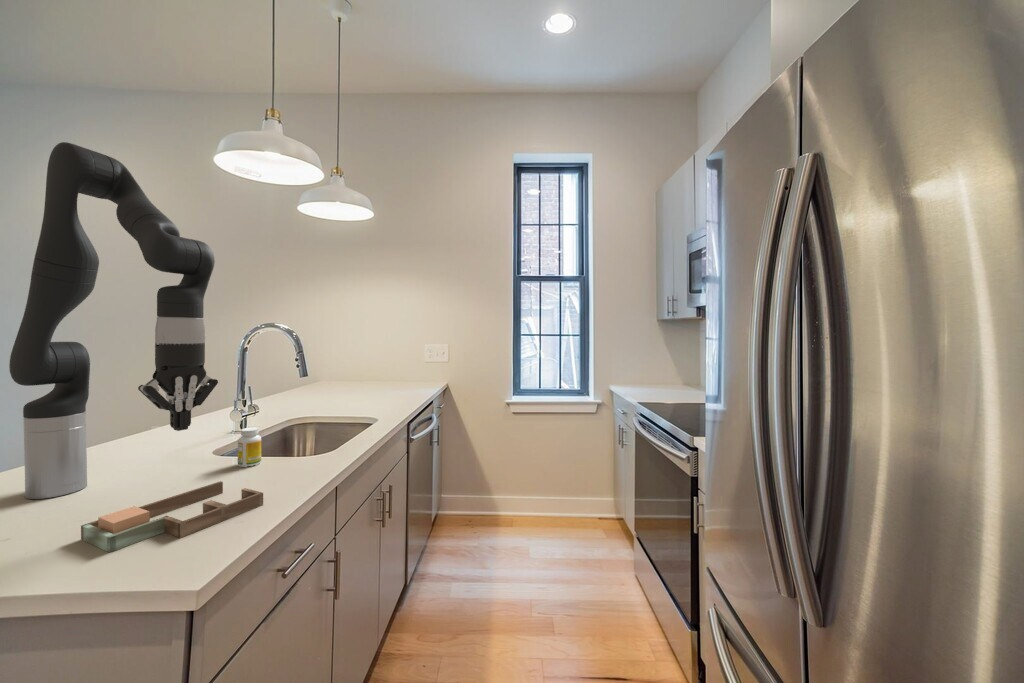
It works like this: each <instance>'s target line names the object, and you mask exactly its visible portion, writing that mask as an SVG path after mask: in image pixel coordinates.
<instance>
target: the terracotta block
mask: <svg viewBox="0 0 1024 683" xmlns="http://www.w3.org/2000/svg"><path fill="white" fill-rule="evenodd" d="M138 507H139V506H134V505H133V506H130V507H126V508H124V509H121V510H120V509H119V510H118V511H114V512H112V513H111V512H110V513H108V514H105V515H102V516H98V519H97V520H98V528H99V529H102V530H104V531H107V532H109V533H112V534H116V533H118V532H121V531H124V530H127V529H130V528H133V527H136V526H138V525H141V524H144V523H147V522H150V519H151V518H149V511H147V510H144V509H141V508H138Z"/></svg>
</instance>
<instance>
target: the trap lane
mask: <svg viewBox="0 0 1024 683" xmlns="http://www.w3.org/2000/svg"><path fill="white" fill-rule="evenodd" d="M223 486H224V481H221V480H220V481H217V482H213V483H210V484H208V485H207V484H206V485H205V486H204V485H203V486H202V487H198V488H195V489H191V490H188V491H186V492H182V493H179V494H177V495H173V496H170V497H167V498H164V499H160V500H156V501H154V502H151V503H150V502H149V503H147V504H144V505H141V506H137V507H138V508H141V509H144V510H147V511H149V518H150V517H151V518H154V517H156V516H157V517H158V516H161V515H162V514H165V513H168V512H170V511H171V512H172V511H174V510H177V509H180V508H183V507H186V506H188V505H192V504H195V503H197V502H200V501H201V502H202V501H204V500H206V499H208V498H212V497H215V496H218V495H221V494H223V493H224V487H223ZM240 493H241V498H240V499H239V500H236V501H233V502H231V503H228V504H226V503H222V502H220V501H219V502H218V501H216V500H213V499H210V500H208V501H204V502H203V503H202V513H201V514H198V515H195V516H193V517H191V518H188V519H185V520H181V519H178V518H174V517H172V516H170V515H165V516H162V517H159V518H156V519H153V520H151V521H150V522H147V523H144V524H141V525H138V526H136V527H133V528H130V529H127V530H124V531H121V532H118V533H116V534H112V533H109V532H107V531H104V530H102V529H99V528H98V519H97V520H95V521H91V522H87V523H85V524H82V525H80V540H81V539H82V540H81V541H83V540H84V541H83V542H85V541H86V542H85V543H87V542H88V543H87V544H90V545H92V546H95V547H96V548H99V549H101V550H103V551H105V552H108V553H113V552H115V551H118V550H120V549H123V548H126V547H128V546H131V545H134V544H137V543H139V542H142V541H144V540H147V539H149V538H153V537H154V536H157V535H160V534H162V533H166V534H168V535H171V536H174V537H177V538H180V539H181V538H184V537H186V536H188V535H191V534H194V533H197V532H199V531H202V530H204V529H207V528H209V527H211V526H214V525H217V524H219V523H221V522H224V521H226V520H228V519H232V518H234V517H236V516H238V515H239V516H240V515H241V514H243V513H246V512H249V511H251V510H254V509H256V508H258V506H259V507H260V506H264V492H262V491H259V490H254V489H251V488H242V489H241V492H240ZM151 518H150V519H151Z"/></svg>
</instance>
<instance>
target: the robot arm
mask: <svg viewBox="0 0 1024 683" xmlns="http://www.w3.org/2000/svg"><path fill="white" fill-rule="evenodd" d="M44 194H45V195H44V196H45V197H44V208H43V218H42V222H41V229H40V234H39V238H38V242H37V247H36V250H35V255H34V259H33V264H32V270H31V274H30V275H31V276H30V283H29V289H28V293H27V298H26V299H27V300H26V304H25V307H24V308H25V309H24V312H23V316H22V319H21V321H20V325H19V328H18V331H17V334H16V336H15V340H14V343H13V346H12V349H11V352H10V356H9V365H8V366H9V373H10V377H11V379H12V380H13V382H14V383H16V384H17V385H20V386H25V387H26V386H27V387H28V386H29V387H32V386H34V387H35V386H44V385H54V388H53V389H52V390H51V391H50V392H48V393H47V394H45V395H43V396H40V397H39V398H36V399H33V400H31V401H29V402H27V403H25V404H24V405H23V409H22V410H23V411H22V415H23V416H22V417H23V418H22V420H23V447H24V448H23V451H24V454H23V456H24V490H25V491H24V493H25V494H24V497H25V498H26V499H29V500H41V499H49V498H54V497H61V496H64V495H69V494H72V493H75V492H78V491H80V490H83V489H85V488H87V486H88V457H87V456H88V454H87V451H88V450H87V414H86V413H87V408H86V406H87V402H88V399H89V394H90V390H89V389H90V375H91V358H90V354H89V352H88V349H87V348H86V346H85V345H83V344H82V343H80V342H78V341H52V338H53V336H54V333H55V331H56V329H57V328H58V326H59V324H60V323H61V322H62V321H63V320H64V318H65V317H67V316H68V314H70V313H71V312H72V311H74V310H75V309H76V308H77V307H78V306H80V305H81V304H82V303H83V302H84V301H85V300H86V299H87V298H88V297H89V296H90V295H91V293H93V290H94V288H95V286H96V280H97V276H98V271H99V267H100V258H99V256H98V253H97V251H96V250H97V249H96V248H95V246H94V245H93V243H92V241H91V240H90V238H89V236H88V235H87V233H86V231H85V229H84V228H83V225H82V223H81V221H80V218H79V213H78V197H79V194H81V195H85V196H89V197H93V198H96V199H101V200H108V201H111V202H112V203H113V204H115V205H117V207H116V210H115V211H116V213H115V214H116V218H117V221H118V223H119V224H120V225H121V227H122V228H123V229H124V230H125V231H126V232H127V233H128V234H129V236H130V237H132V238H133V239H134V240H135V241H136V242H137V244H138V247H139V249H140V251H141V253H142V256H143V259H144V262H145V263H146V264H148V266H150V267H151V268H153V269H155V270H157V271H158V272H159V271H160V272H163V273H167V274H168V273H170V274H175V275H176V274H179V275H183V276H182V279H181V281H180V282H179V284H177V285H167V286H166V285H165V286H162V287H160V288H158V290H157V294H156V316H157V317H156V321H155V322H156V323H155V328H154V365H155V370H154V372H153V373H152V379H150V381H147V383H145V384H139V386H138V387H137V390H138V391H139V392H140V393H141V394H142V395H143V396H145V397H146V398H147V399H148V400H149V401H150V402H151V403H152V404H153V405H154V406H155V407H157V408H158V409H159V410H165V411H168V412H170V413H169V426H170V427H171V428H172V429H173V430H174V431H177V432H180V431H185V430H188V429H189V427H190V426H191V424H192V410H193V408H196V407H198V406H202V405H203V403H204V402H205V401H206V399H207V398H208V396H209V395H210V394H211V393H212V391H213V390H214V389H215V387H216V386H217V385H218V384H219V380H218V379H216V378H211V377H210V376H208V375H207V371H206V369H205V366H204V365H205V362H206V349H205V348H206V327H205V322H204V320H205V319H204V298H205V296H206V295H205V294H206V291H207V289H208V285H209V283H210V280H211V276H212V274H213V271H214V267H215V262H216V261H215V255H214V251H213V250H212V248H211V246H210V245H208V244H207V243H206V242H203V241H201V240H198V239H191V238H187V237H182V236H181V234H180V231H179V228H178V227H177V226H176V224H175V223H174V222H173V221H172V219H170V218H168V217H167V215H165V214H164V213H163V212H162V211H161V210H160V209H158V207H156V205H154V203H153V202H152V201H150V199H149V198H148V197H147V194H145V192H144V191H143V189H142V187H141V186H140V185H139V183H138V182H137V180H136V179H135V177H134V176H133V174H132V173H131V172H130V170H129V169H128V168H127V167H126V166H125V165H124V164H123V163H122V162H121V161H120V160H119V159H116V158H114V157H112V156H109V155H106V154H103V153H101V152H97V151H95V150H92V149H89V148H87V147H83V146H80V145H78V144H75V143H71V142H66V141H64V142H63V141H61V142H59V143H57V144H56V145H55V146H54V147H53V148H52V150H51V152H50V155H49V158H48V162H47V170H46V181H45V193H44ZM160 389H161V390H162V391H163V392H165V397H164V396H163V395H162V394H161V393H160V392H159V391H160Z"/></svg>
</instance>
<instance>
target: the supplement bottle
mask: <svg viewBox="0 0 1024 683" xmlns="http://www.w3.org/2000/svg"><path fill="white" fill-rule="evenodd" d="M259 433H260V430H259V427H257V426H256V427H255V426H253V427H245V428H241V429H240V437H239V438H238V439H237V465H238V467H240V468H248V467H247V466H251V467H253V466H252V465H256V464H258V465H260V464H261V463H262V437H261V435H258V434H259ZM259 463H260V464H259ZM256 466H257V465H256Z"/></svg>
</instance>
